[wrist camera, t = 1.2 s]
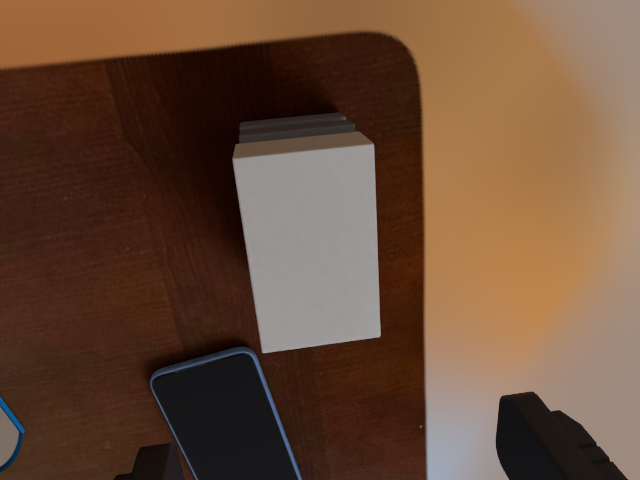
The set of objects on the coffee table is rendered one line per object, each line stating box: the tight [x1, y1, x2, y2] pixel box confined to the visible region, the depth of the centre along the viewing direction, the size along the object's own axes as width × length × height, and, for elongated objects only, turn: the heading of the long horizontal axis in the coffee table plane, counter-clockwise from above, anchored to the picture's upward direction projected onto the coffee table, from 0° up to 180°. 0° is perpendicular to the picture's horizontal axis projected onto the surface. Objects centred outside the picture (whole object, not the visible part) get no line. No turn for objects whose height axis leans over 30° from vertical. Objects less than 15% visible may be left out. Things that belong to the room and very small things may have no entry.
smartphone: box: [150, 347, 302, 480], centre depth 34 cm, size 7×1×15 cm
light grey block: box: [232, 131, 381, 353], centre depth 22 cm, size 10×6×3 cm, turn 5°
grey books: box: [239, 112, 355, 144], centre depth 26 cm, size 10×6×5 cm, turn 5°
